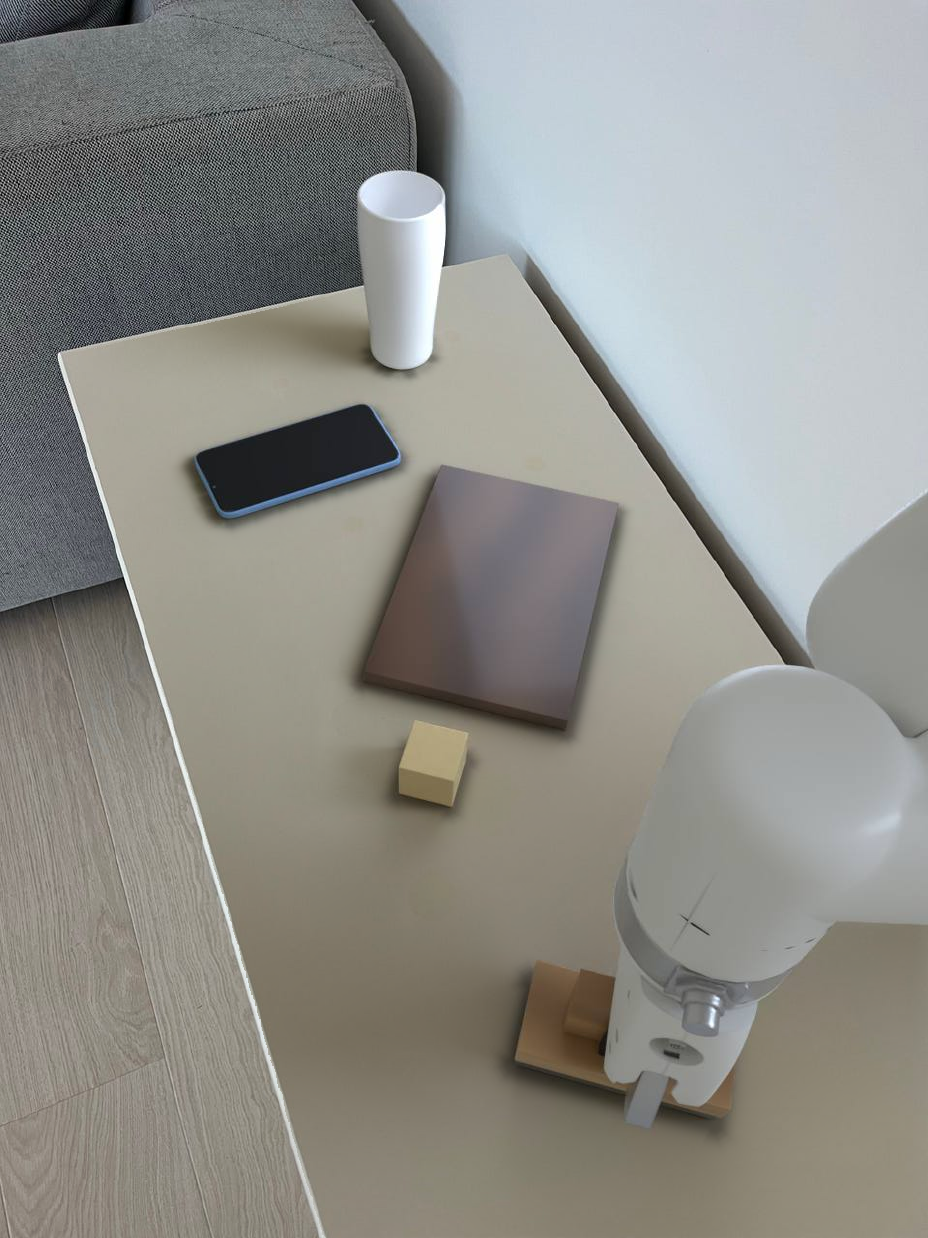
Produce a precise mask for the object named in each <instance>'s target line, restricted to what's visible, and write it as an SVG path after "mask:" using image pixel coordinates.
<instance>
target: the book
mask: <svg viewBox="0 0 928 1238" xmlns="http://www.w3.org/2000/svg"><path fill="white" fill-rule="evenodd" d="M619 505H620V503H619V502H617V501H614V500H613V501H611V500H608V499H602V498H599V497H593V496H591V495H590V496H589V495H585V494H581V493H575V492H571V491H567V490H561V489H557V488H553V487H548V486H543V485H538V484H533V483H529V482H525V481H521V480H515V479H511V478H506V477H501V476H498V475H497V476H496V475H491V474H488V473H483V472H479V471H473V470H469V469H465V468H459V467H455V466H451V465H446V464H441V465H440V466H439V470H438V472H437V475H436V478H435V480H434V482H433V485H432V488H431V490H430V493H429V496H428V500H427V501H426V503H425V507H424V509H423V512H422V515H421V517H420V520H419V523H418V525H417V528H416V531H415V533H414V535H413V538H412V542H411V544H410V546H409V549H408V552H407V555H406V557H405V560H404V562H403V565H402V568H401V571H400V573H399V575H398V578H397V581H396V583H395V587H394V590H393V592H392V595H391V597H390V600H389V603H388V605H387V608H386V610H385V613H384V615H383V619H382V621H381V624H380V627H379V630H378V632H377V635H376V637H375V640H374V642H373V645H372V648H371V651H370V653H369V656H368V658H367V661H366V664H365V666H364V669H363V682H365V683H370V684H372V685H373V684H374V685H377V686H378V685H379V686H382V687H386V688H390V689H395V690H399V691H402V692H406V693H411V694H415V695H418V696H424V697H427V698H431V699H435V700H438V701H439V700H440V701H444V702H448V703H453V704H456V705H460V706H465V707H469V708H472V709H477V710H481V711H485V712H490V713H493V714H498V715H502V716H506V717H510V718H515V719H518V720H522V721H527V722H531V723H535V724H539V725H543V726H547V727H551V728H555V729H560V730H564V731H567V730H568V725H569V721H570V716H571V711H572V707H573V703H574V699H575V694H576V691H577V685H578V681H579V677H580V674H581V670H582V669H581V668H582V664H583V659H584V655H585V652H586V647H587V642H588V639H589V633H590V630H591V626H592V620H593V616H594V612H595V608H596V604H597V600H598V595H599V591H600V587H601V581H602V578H603V574H604V569H605V564H606V560H607V556H608V552H609V548H610V543H611V539H612V535H613V530H614V526H615V522H616V518H617V513H618V508H619Z"/></svg>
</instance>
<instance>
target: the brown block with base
mask: <svg viewBox="0 0 928 1238" xmlns="http://www.w3.org/2000/svg"><path fill="white" fill-rule="evenodd" d="M615 979H616V976H613V975H609V974H605V973H601V972H597V971H594V970H590V969H586V968H580V969H579V970H576V969H572V968H569V967H565V966H561V965H558V964H554V963H550V962H548V961H547V962H546V961H542V960H539V959H537V960H536V962H535V966H534V968H533V973H532V978H531V982H530V985H529V986H530V987H529V990H528V994H527V995H528V996H527V1000H526V1005H525V1009H524V1014H523V1019H522V1022H521V1023H522V1024H521V1028H520V1032H519V1037H518V1042H517V1046H516V1049H515V1055H514V1063H515V1065H516V1066H520V1067H523V1068H526V1069H531V1070H533V1071H538V1072H541V1073H544V1074H548V1075H552V1076H556V1077H559V1078H563V1079H566V1080H569V1081H572V1082H577V1083H580V1084H583V1085H588V1086H591V1087H595V1088H597V1089H602V1090H605V1091H609V1092H612V1093H615V1094H620V1095H623V1096H625V1095H626V1088H627V1085H628V1083H625V1084H622V1083H619V1082H617V1081H616V1083H612V1082H611V1080H610V1079H609V1078H608V1076H607V1074H606V1072H605V1070H604V1060H605V1057H604V1056H601V1055H599V1054H598V1051H599V1045H600V1042H601V1040H602V1038H603V1036H604V1034H605V1033H606V1031H607V1029H608V1027H609V1021H610V1013H611V1006H612V999H613V992H614V986H615ZM735 1069H736V1063H735V1064H734V1065H733V1067H732V1068H731V1070H730V1072H729V1073H728V1075H727V1076H726V1078H725V1079H724V1081H723V1082H722V1084H721V1085H720V1086H719V1088H718V1089H717V1090H716V1092H715V1093H714V1094H713V1095H712V1096H711V1098H710V1099H709V1100H708V1101H707V1102H706V1103H704V1104H703V1105H701V1106H699V1107H696V1106H689V1105H684V1104H679V1103H678V1102H677V1101H676V1100H675V1099H674V1097H673V1096H672V1094H671V1088H672V1086H673V1085H674V1084H675V1082H676V1081H677V1080H673V1079H670V1080H669V1083H668V1085H667V1088H666V1090H665V1093H664V1095H663V1098H662V1101H661V1103H660V1106H662V1107H666V1108H670V1109H673V1110H676V1111H681V1112H683V1113H688V1114H691V1115H695V1116H698V1117H702V1118H705V1119H708V1120H713V1121H716V1120H717V1119H718V1118H720V1119H722V1118H724V1117H725V1116H726V1115H727V1114H729V1113H730V1112H731V1110H732V1101H733V1091H734V1090H733V1089H734V1080H735Z"/></svg>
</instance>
